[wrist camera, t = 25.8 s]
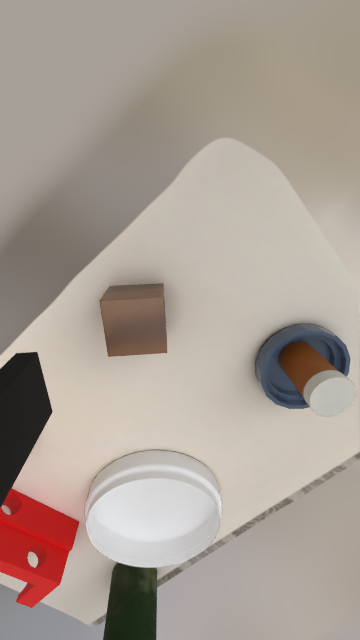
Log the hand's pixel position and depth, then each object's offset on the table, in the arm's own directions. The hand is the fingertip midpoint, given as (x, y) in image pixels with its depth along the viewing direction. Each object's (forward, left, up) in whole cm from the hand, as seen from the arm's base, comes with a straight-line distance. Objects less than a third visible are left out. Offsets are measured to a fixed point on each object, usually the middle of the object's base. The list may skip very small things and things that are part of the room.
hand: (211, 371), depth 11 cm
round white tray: (+48, +15, -32) cm, 60 cm away
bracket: (+61, -8, -32) cm, 69 cm away
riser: (+10, -2, -32) cm, 33 cm away
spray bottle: (+72, +19, -32) cm, 81 cm away
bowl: (+9, +26, -32) cm, 42 cm away
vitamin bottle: (+8, +25, -31) cm, 41 cm away
